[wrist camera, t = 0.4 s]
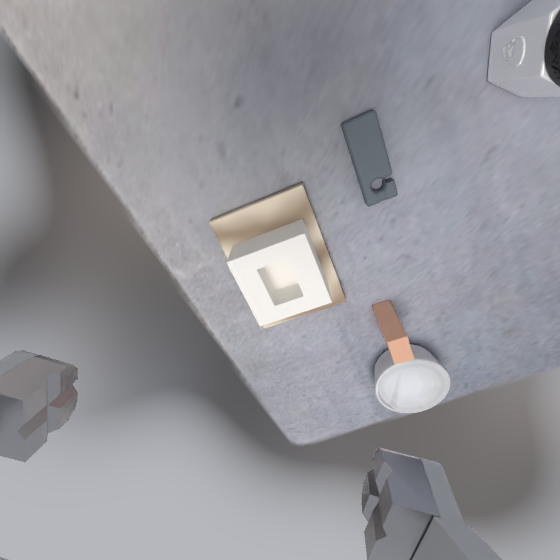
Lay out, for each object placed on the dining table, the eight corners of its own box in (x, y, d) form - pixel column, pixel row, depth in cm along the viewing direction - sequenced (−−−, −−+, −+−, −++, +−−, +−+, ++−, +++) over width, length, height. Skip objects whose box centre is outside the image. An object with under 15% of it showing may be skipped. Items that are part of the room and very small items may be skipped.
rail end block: (371, 305, 52) (387, 342, 44) (389, 299, 52) (407, 336, 44) (378, 325, 54) (394, 364, 46) (395, 320, 54) (414, 359, 46)
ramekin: (356, 357, 57) (362, 380, 53) (420, 326, 54) (432, 347, 49) (387, 398, 61) (395, 423, 57) (447, 372, 58) (461, 395, 54)
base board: (211, 219, 47) (209, 222, 45) (302, 182, 44) (302, 184, 43) (264, 322, 54) (264, 328, 53) (344, 296, 52) (346, 301, 50)
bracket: (372, 109, 41) (375, 109, 39) (394, 191, 45) (398, 195, 43) (339, 123, 41) (342, 124, 40) (365, 203, 46) (368, 207, 44)
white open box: (232, 245, 47) (226, 262, 42) (302, 218, 45) (304, 233, 40) (262, 304, 51) (260, 326, 46) (327, 282, 49) (332, 302, 44)
